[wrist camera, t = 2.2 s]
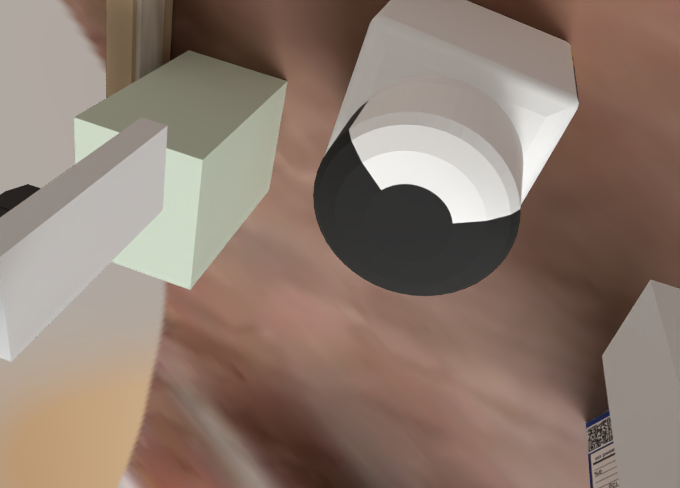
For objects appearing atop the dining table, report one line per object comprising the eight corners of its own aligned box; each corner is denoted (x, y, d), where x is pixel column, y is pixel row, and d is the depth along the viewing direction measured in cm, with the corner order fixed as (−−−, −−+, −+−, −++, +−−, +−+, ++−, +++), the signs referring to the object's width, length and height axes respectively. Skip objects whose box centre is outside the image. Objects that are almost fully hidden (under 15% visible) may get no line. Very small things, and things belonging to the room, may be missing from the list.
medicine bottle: (495, 187, 30) (471, 358, 20) (354, 127, 30) (262, 267, 20) (574, 42, 25) (594, 168, 16) (410, -25, 26) (328, 57, 16)
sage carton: (287, 81, 30) (202, 160, 22) (269, 189, 33) (190, 289, 26) (187, 49, 30) (72, 116, 23) (179, 160, 33) (76, 249, 26)
